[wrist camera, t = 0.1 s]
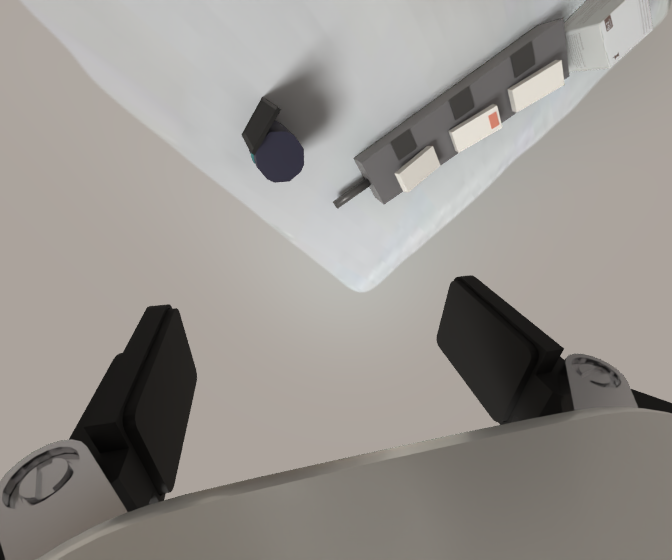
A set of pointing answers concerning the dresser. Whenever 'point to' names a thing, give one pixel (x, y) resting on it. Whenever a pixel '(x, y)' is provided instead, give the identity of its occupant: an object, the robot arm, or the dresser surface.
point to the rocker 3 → (536, 86)
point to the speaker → (273, 144)
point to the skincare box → (605, 32)
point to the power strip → (457, 110)
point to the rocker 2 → (476, 128)
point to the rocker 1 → (417, 169)
